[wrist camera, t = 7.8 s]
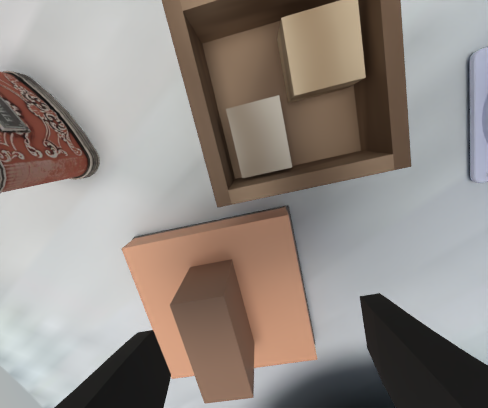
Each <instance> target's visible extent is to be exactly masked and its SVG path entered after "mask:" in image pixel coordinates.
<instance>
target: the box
mask: <svg viewBox="0 0 488 408" xmlns="http://www.w3.org/2000/svg"><path fill="white" fill-rule="evenodd" d="M162 3H163V7H164V11H165V14H166V18H167V22H168V26H169V29H170V33H171V37H172V40H173V44H174V48H175V52H176V55H177V59H178V63H179V66H180V70H181V74H182V78H183V81H184V85H185V89H186V92H187V96H188V100H189V103H190V107H191V111H192V115H193V118H194V122H195V126H196V129H197V133H198V137H199V141H200V144H201V148H202V152H203V155H204V159H205V163H206V167H207V170H208V174H209V178H210V181H211V185H212V189H213V193H214V196H215V200H216V204H217V207H223V206H227V205H232V204H237V203H241V202H246V201H251V200H256V199H260V198H265V197H270V196H274V195H279V194H284V193H289V192H293V191H298V190H303V189H307V188H312V187H317V186H322V185H326V184H331V183H336V182H340V181H345V180H350V179H355V178H359V177H364V176H369V175H373V174H378V173H383V172H388V171H392V170H397V169H402V168H406V167H411V156H410V140H409V125H408V109H407V94H406V79H405V63H404V48H403V32H402V17H401V2H400V0H162Z"/></svg>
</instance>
